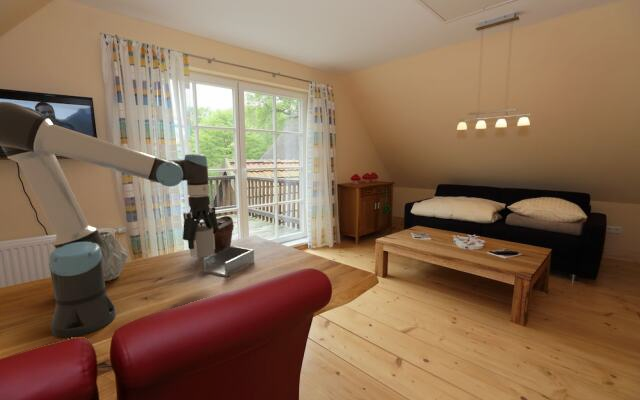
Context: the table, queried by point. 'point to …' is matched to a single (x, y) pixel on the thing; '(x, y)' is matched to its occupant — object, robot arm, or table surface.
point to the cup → (204, 241)
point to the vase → (113, 257)
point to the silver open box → (228, 261)
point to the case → (222, 233)
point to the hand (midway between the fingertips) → (203, 252)
